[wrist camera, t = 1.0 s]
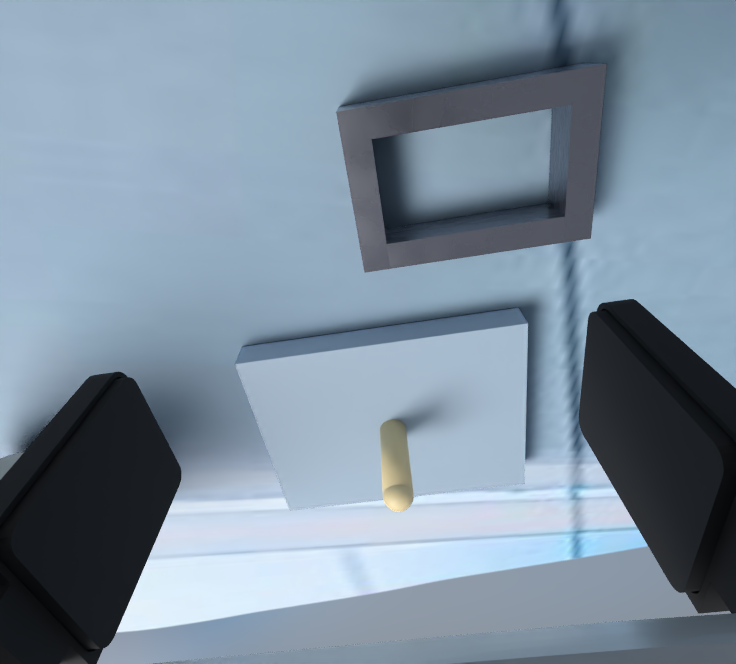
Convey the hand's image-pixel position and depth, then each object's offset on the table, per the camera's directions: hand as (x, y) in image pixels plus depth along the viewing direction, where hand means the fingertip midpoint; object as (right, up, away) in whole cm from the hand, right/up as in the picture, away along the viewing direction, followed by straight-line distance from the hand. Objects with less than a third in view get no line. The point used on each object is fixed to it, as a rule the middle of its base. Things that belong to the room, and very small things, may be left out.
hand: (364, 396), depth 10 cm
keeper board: (+2, -4, +24) cm, 24 cm away
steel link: (+5, +10, +15) cm, 19 cm away
